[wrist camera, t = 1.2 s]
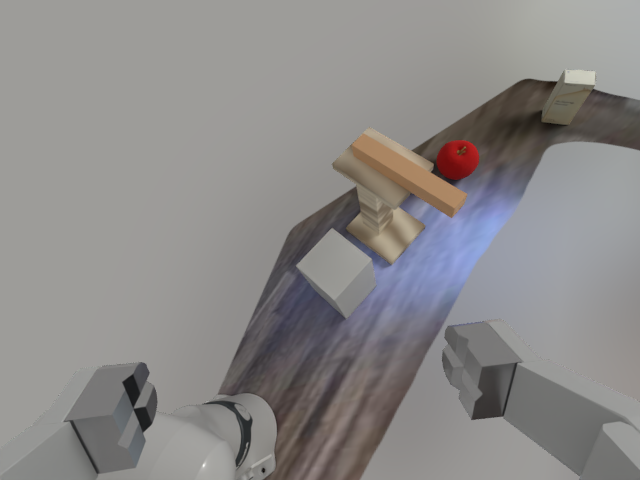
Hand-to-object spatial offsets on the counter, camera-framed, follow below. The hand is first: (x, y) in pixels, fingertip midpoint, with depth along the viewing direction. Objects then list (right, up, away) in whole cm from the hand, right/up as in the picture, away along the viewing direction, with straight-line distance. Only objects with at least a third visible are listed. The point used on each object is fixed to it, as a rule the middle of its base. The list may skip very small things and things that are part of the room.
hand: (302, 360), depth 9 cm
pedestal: (+6, -8, +68) cm, 69 cm away
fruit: (+34, +20, +75) cm, 85 cm away
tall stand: (+16, +6, +72) cm, 74 cm away
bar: (+15, +13, +47) cm, 51 cm away
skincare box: (+59, +34, +76) cm, 102 cm away
